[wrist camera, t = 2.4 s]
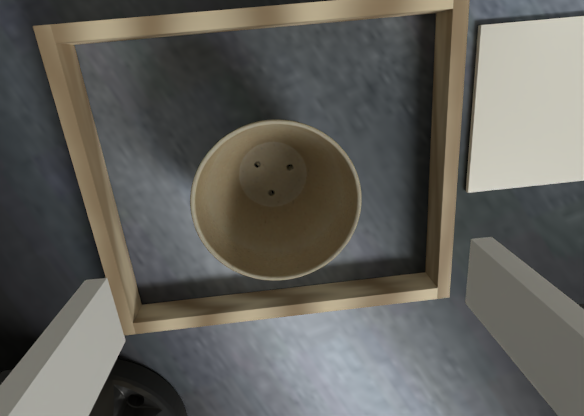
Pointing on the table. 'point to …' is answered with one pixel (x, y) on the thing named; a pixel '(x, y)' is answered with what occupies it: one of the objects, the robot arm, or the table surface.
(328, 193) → the flower pot
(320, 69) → the table surface
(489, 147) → the mat
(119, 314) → the wooden frame
